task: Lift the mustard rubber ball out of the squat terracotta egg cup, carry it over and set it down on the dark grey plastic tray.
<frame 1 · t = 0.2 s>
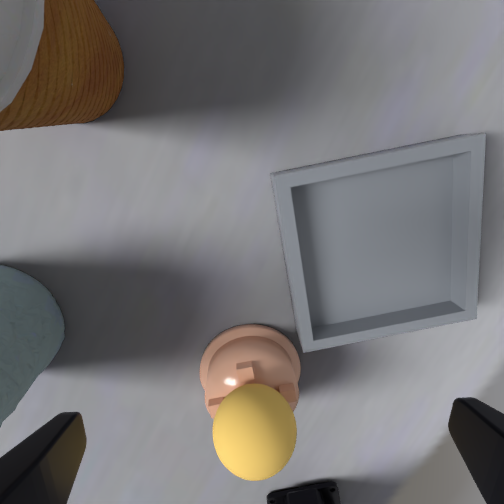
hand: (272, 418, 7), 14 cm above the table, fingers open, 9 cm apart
disposable coffee cup: (67, 62, 17), on the table
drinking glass: (3, 321, 22), on the table
ball: (252, 396, 21), point 3 cm above the table, touching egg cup
tray: (371, 244, 21), on the table
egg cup: (250, 367, 24), on the table
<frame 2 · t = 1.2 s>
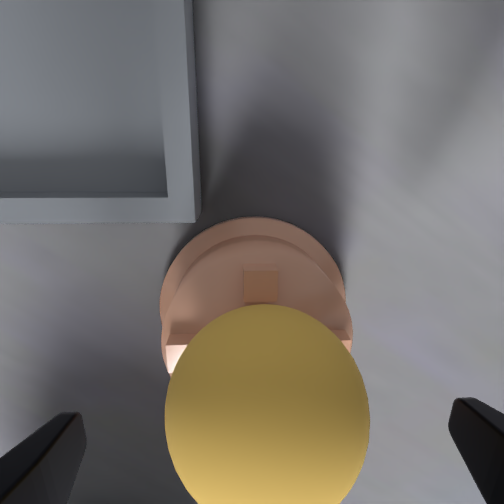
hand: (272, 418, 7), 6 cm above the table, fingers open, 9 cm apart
ball: (258, 345, 10), point 3 cm above the table, touching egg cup
tray: (2, 23, 10), on the table
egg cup: (253, 304, 13), on the table
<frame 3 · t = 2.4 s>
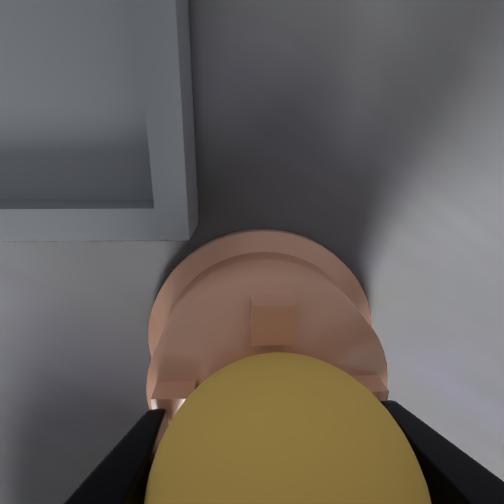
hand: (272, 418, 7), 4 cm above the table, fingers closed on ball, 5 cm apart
ball: (269, 393, 8), point 3 cm above the table, touching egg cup, gripper
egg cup: (260, 331, 11), on the table
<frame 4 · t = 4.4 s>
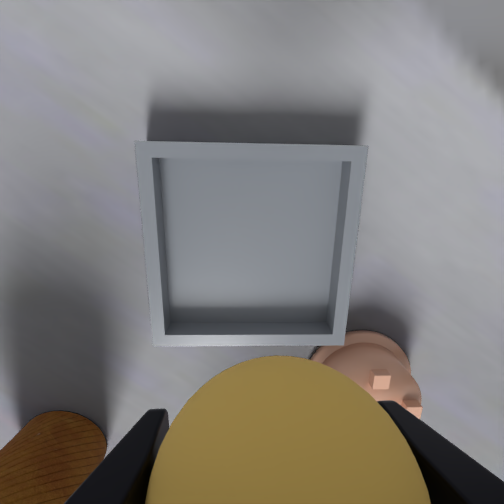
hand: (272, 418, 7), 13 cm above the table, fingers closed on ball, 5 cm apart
disposable coffee cup: (66, 440, 24), on the table
ball: (269, 396, 8), point 12 cm above the table, touching gripper
tray: (250, 244, 19), on the table
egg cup: (355, 375, 23), on the table
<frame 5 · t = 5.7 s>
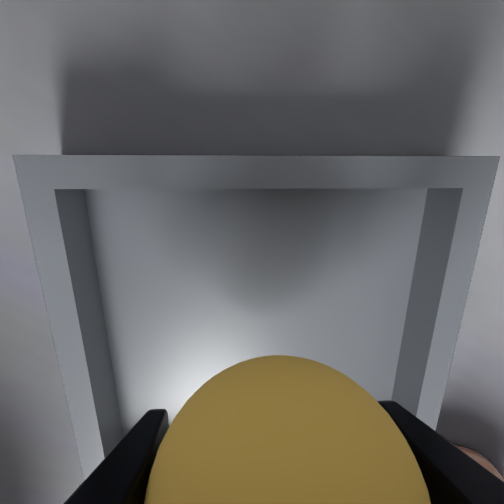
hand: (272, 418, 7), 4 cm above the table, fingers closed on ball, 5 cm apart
ball: (268, 395, 8), point 3 cm above the table, touching gripper
tray: (257, 325, 11), on the table
when the fingers open (3 cm above the table, at t = 6.7 s): ball drops 2 cm, resting on tray.
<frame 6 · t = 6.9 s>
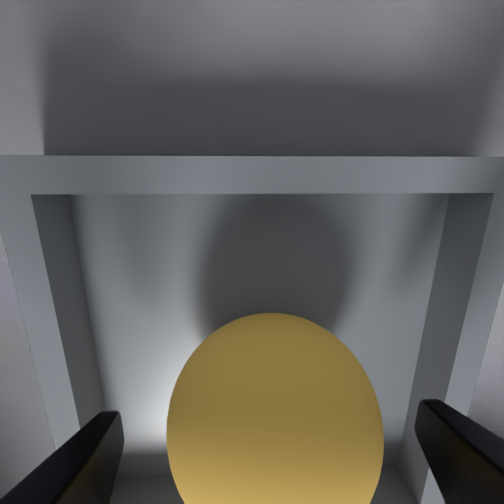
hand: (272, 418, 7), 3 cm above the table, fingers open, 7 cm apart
ball: (263, 353, 10), point 1 cm above the table, touching tray
tray: (261, 341, 10), on the table
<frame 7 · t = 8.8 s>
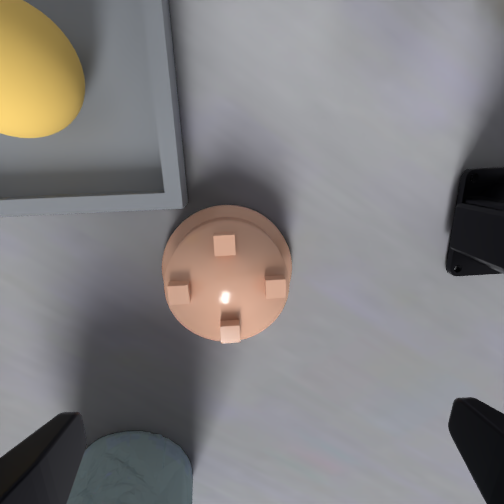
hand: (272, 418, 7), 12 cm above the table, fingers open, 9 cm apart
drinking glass: (139, 472, 23), on the table
ball: (47, 85, 15), point 1 cm above the table, touching tray
tray: (53, 86, 15), on the table
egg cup: (227, 267, 19), on the table
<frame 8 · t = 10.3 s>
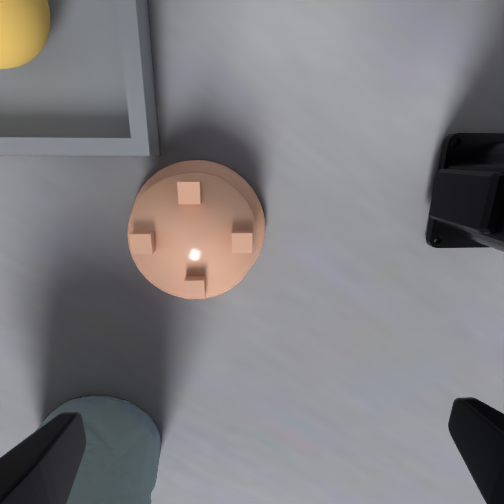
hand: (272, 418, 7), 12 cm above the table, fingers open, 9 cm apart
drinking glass: (107, 440, 23), on the table
ball: (14, 20, 14), point 1 cm above the table, touching tray
tray: (22, 24, 15), on the table
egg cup: (200, 227, 18), on the table
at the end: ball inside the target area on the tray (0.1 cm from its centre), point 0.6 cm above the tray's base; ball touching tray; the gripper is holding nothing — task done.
